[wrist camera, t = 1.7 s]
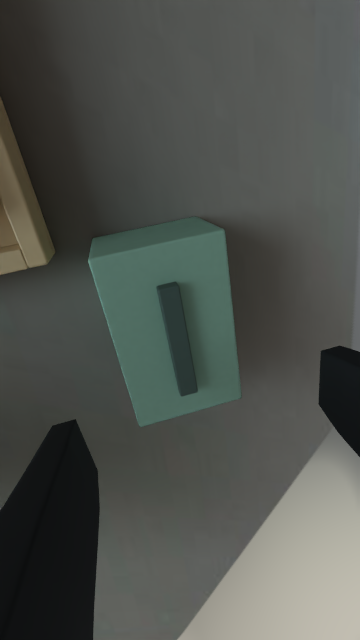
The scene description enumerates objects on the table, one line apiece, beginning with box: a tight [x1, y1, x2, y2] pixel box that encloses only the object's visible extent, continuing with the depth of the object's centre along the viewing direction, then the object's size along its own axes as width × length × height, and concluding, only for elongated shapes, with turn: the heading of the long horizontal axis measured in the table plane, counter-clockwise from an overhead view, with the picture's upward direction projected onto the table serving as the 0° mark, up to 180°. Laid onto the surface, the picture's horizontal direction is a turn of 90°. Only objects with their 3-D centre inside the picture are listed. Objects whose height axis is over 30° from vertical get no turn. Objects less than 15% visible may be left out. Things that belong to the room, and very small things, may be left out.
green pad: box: [88, 216, 242, 427], centre depth 14 cm, size 5×8×4 cm, turn 9°
